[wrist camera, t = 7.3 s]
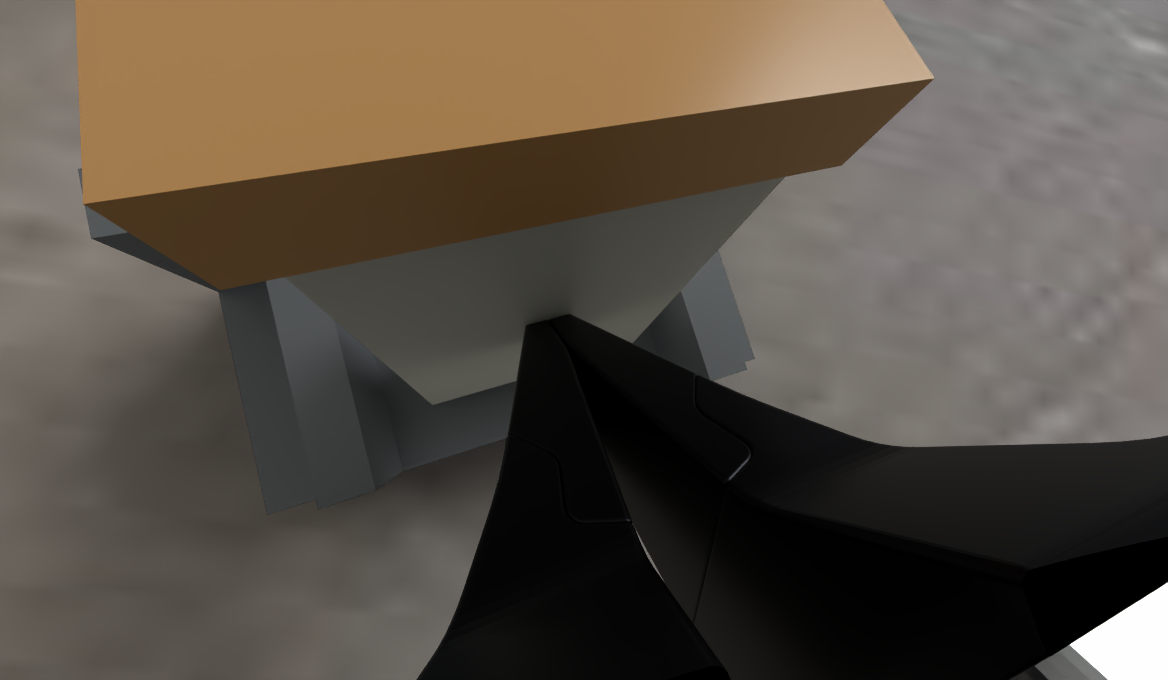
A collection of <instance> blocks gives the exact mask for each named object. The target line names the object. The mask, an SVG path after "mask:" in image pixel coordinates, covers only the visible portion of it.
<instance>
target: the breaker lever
mask: <svg viewBox="0 0 1168 680" xmlns="http://www.w3.org/2000/svg"><path fill="white" fill-rule="evenodd" d="M76 27H77V53H78V79H79V105H80V132H81V158H82V184H83V204H84V205H86V206H87V207H89V208H90V209H92V210H94V211H95V212H97V213H98V214H100V215H102V216H103V217H105V218H106V219H108V220H109V221H111V222H113V223H114V224H116V225H117V226H119V227H121V228H122V229H124V230H125V231H127V232H129V233H130V234H132V235H133V236H135V237H136V238H138V239H140V240H141V241H143V242H144V243H146V244H148V245H149V246H151V247H152V248H154V249H155V250H157V251H159V252H160V253H162V254H163V255H165V256H167V257H168V258H170V259H171V260H173V261H175V262H176V263H178V264H179V265H181V266H182V267H184V268H186V269H187V270H189V271H190V272H192V273H194V274H195V275H197V276H198V277H200V278H202V279H203V280H205V281H206V282H208V283H209V284H211V285H213V286H214V287H216V288H217V289H219V290H223V289H228V288H233V287H238V286H243V285H248V284H253V283H258V282H263V281H268V280H273V279H278V278H283V277H285V278H287V279H288V280H289V281H290V282H291V283H292V284H294V285H295V286H296V287H297V288H298V289H299V290H300V291H302V292H303V293H304V294H305V295H306V296H307V297H308V298H310V299H311V300H312V301H313V302H314V303H315V304H317V305H318V306H319V307H320V308H321V309H322V310H323V311H325V312H326V313H327V314H328V315H329V316H330V317H332V318H333V319H334V320H335V321H336V322H337V323H338V324H340V325H341V326H342V327H343V328H344V329H345V330H347V331H348V332H349V333H350V334H351V335H352V336H353V337H355V338H356V339H357V340H358V341H359V342H360V343H362V344H363V345H364V346H365V347H366V348H367V349H368V350H370V351H371V352H372V353H373V354H374V355H375V356H377V357H378V358H379V359H380V360H381V361H382V362H383V363H385V364H386V365H387V366H388V367H389V368H390V369H391V370H393V371H394V372H395V373H396V374H397V375H398V376H400V377H401V378H402V379H403V380H404V381H405V382H406V383H408V384H409V385H410V386H411V387H412V388H413V389H415V390H416V391H417V392H418V393H419V394H420V395H421V396H423V397H424V398H425V399H426V400H427V401H428V402H430V403H431V404H432V405H435V404H438V403H442V402H445V401H449V400H452V399H456V398H459V397H462V396H466V395H469V394H473V393H476V392H480V391H483V390H487V389H490V388H494V387H497V386H501V385H504V384H508V383H511V382H514V381H516V379H517V373H518V367H519V361H520V355H521V349H522V343H523V337H524V331H525V326H526V325H529V324H533V323H536V322H540V321H544V320H548V321H549V320H550V319H552V318H556V317H560V316H564V315H567V314H572V315H574V316H576V317H578V318H580V319H582V320H584V321H586V322H588V323H591V324H593V325H595V326H597V327H599V328H601V329H603V330H605V331H607V332H610V333H612V334H614V335H616V336H618V337H620V338H622V339H624V340H626V341H629V342H631V343H633V342H634V341H635V340H636V339H637V338H638V337H639V336H640V334H641V333H642V332H643V331H644V330H645V329H646V328H647V327H648V326H649V325H650V324H651V322H652V321H653V320H654V319H655V318H656V317H657V316H658V315H659V314H660V313H661V312H662V311H663V309H664V308H665V307H666V306H667V305H668V304H669V303H670V302H671V301H672V300H673V299H674V297H675V296H676V295H677V294H678V293H679V292H680V291H681V290H682V289H683V288H684V287H685V285H686V284H687V283H688V282H689V281H690V280H691V279H692V278H693V277H694V276H695V275H696V273H697V272H698V271H699V270H700V269H701V268H702V267H703V266H704V265H705V264H706V263H707V261H708V260H709V259H710V258H711V257H712V256H713V255H714V254H715V253H716V252H717V251H718V249H719V248H720V247H721V246H722V245H723V244H724V243H725V242H726V241H727V240H728V239H729V237H730V236H731V235H732V234H733V233H734V232H735V231H736V230H737V229H738V228H739V227H740V226H741V224H742V223H743V222H744V221H745V220H746V219H747V218H748V217H749V216H750V215H751V214H752V212H753V211H754V210H755V209H756V208H757V207H758V206H759V205H760V204H761V203H762V202H763V200H764V199H765V198H766V197H767V196H768V195H769V194H770V193H771V192H772V191H773V190H774V188H775V187H776V186H777V185H778V184H779V183H780V182H781V181H782V180H783V179H784V178H785V177H786V176H791V175H796V174H801V173H806V172H811V171H816V170H821V169H826V168H831V167H836V166H841V165H843V164H844V163H845V162H846V161H847V160H848V159H849V158H850V157H851V156H852V155H853V154H854V153H855V152H856V151H857V150H858V149H860V148H861V147H862V146H863V145H864V144H865V143H866V142H867V141H868V140H869V139H870V138H871V137H872V136H873V135H874V134H876V133H877V132H878V131H879V130H880V129H881V128H882V127H883V126H884V125H885V124H886V123H887V122H888V121H889V120H890V119H892V118H893V117H894V116H895V115H896V114H897V113H898V112H899V111H900V110H901V109H902V108H903V107H904V106H905V105H906V104H908V103H909V102H910V101H911V100H912V99H913V98H914V97H915V96H916V95H917V94H918V93H919V92H920V91H921V90H922V89H924V88H925V87H926V86H927V85H928V84H929V83H930V82H931V81H932V80H933V79H934V77H933V75H932V74H931V72H930V71H929V69H928V68H927V66H926V65H925V63H924V62H923V60H922V59H921V57H920V56H919V54H918V53H917V51H916V50H915V48H914V47H913V45H912V44H911V42H910V41H909V39H908V38H907V36H906V35H905V33H904V32H903V30H902V29H901V27H900V26H899V24H898V23H897V21H896V20H895V18H894V17H893V15H892V14H891V12H890V10H889V9H888V7H887V6H886V4H885V3H884V1H883V0H76Z"/></svg>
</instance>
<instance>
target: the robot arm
mask: <svg viewBox="0 0 1168 680" xmlns="http://www.w3.org/2000/svg"><path fill="white" fill-rule="evenodd" d="M632 523H633V525H634V526H633V525H632ZM634 527H635V528H634ZM635 529H636V530H635ZM636 531H637V532H638V534H639V536H640V538H641V540H642V542H643V544H644V545H645V547H646V549H647V551H648V553H649V555H650V556H651V558H652V560H653V562H654V564H655V566H656V567H657V569H658V571H659V573H660V575H661V577H662V578H663V580H664V581H663V580H662V579H661V577H660V576H659V574H658V573H657V572H656V570H655V569H654V567H653V566H652V564H651V562H650V561H649V559H648V557H647V555H646V553H645V551H644V549H643V547H642V545H641V542H640V540H639V538H638V535H637V533H636ZM664 582H665V583H664ZM417 680H1168V436H1162V437H1157V438H1151V439H1142V440H1132V441H1122V442H1102V443H1070V444H1028V445H985V446H943V447H902V446H891V445H885V444H879V443H875V442H871V441H867V440H863V439H860V438H857V437H854V436H851V435H848V434H845V433H843V432H840V431H837V430H835V429H832V428H829V427H827V426H824V425H821V424H819V423H816V422H813V421H810V420H808V419H805V418H802V417H800V416H797V415H794V414H792V413H789V412H786V411H784V410H781V409H778V408H776V407H773V406H770V405H768V404H765V403H763V402H760V401H758V400H755V399H753V398H750V397H748V396H745V395H743V394H740V393H738V392H736V391H734V390H731V389H729V388H727V387H725V386H722V385H720V384H718V383H716V382H714V381H711V380H709V379H707V378H705V377H703V376H701V375H697V376H696V374H695V373H694V372H692V371H690V370H688V369H686V368H684V367H681V366H679V365H677V364H675V363H673V362H671V361H669V360H667V359H665V358H662V357H660V356H658V355H656V354H654V353H652V352H650V351H648V350H646V349H643V348H641V347H639V346H637V345H635V344H633V343H631V342H629V341H626V340H624V339H622V338H620V337H618V336H616V335H614V334H612V333H610V332H607V331H605V330H603V329H601V328H599V327H597V326H595V325H593V324H591V323H588V322H586V321H584V320H582V319H580V318H578V317H576V316H574V315H572V314H567V315H564V316H560V317H556V318H552V319H550V320H549V321H548V320H544V321H540V322H536V323H533V324H529V325H526V326H525V331H524V337H523V343H522V349H521V355H520V361H519V367H518V373H517V379H516V386H515V392H514V398H513V404H512V410H511V416H510V422H509V428H508V436H507V439H506V445H505V451H504V456H503V461H502V466H501V470H500V475H499V480H498V483H497V487H496V490H495V494H494V497H493V501H492V504H491V507H490V511H489V514H488V517H487V520H486V523H485V526H484V529H483V532H482V535H481V538H480V541H479V544H478V547H477V550H476V553H475V556H474V559H473V562H472V565H471V568H470V571H469V574H468V577H467V580H466V583H465V587H464V589H463V592H462V595H461V598H460V601H459V603H458V606H457V609H456V611H455V614H454V616H453V619H452V621H451V623H450V625H449V627H448V630H447V632H446V634H445V636H444V638H443V639H442V641H441V643H440V645H439V647H438V648H437V650H436V651H435V653H434V655H433V656H432V658H431V659H430V661H429V662H428V664H427V665H426V666H425V668H424V669H423V671H422V672H421V674H420V675H419V677H418V678H417Z"/></svg>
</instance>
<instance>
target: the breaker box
mask: <svg viewBox="0 0 1168 680" xmlns="http://www.w3.org/2000/svg"><path fill="white" fill-rule="evenodd" d="M78 172H79V178H80V183H81V188H82V193H83V184H82V169H78ZM85 209H86V214H87V219H88V225H89V230H90V235H91V239H94V240H96V241H98V242H101V243H103V244H106V245H108V246H110V247H113V248H115V249H117V250H120V251H122V252H125V253H127V254H129V255H132V256H134V257H136V258H139V259H141V260H144V261H146V262H148V263H151V264H153V265H155V266H158V267H160V268H163V269H165V270H167V271H170V272H172V273H174V274H177V275H179V276H182V277H184V278H186V279H189V280H191V281H193V282H196V283H198V284H201V285H203V286H205V287H208V288H210V289H212V290H215V291H217V292H219V297H220V301H221V306H222V310H223V315H224V320H225V324H226V329H227V333H228V338H229V342H230V347H231V351H232V356H233V361H234V365H235V370H236V374H237V379H238V383H239V388H240V393H241V397H242V402H243V406H244V411H245V415H246V420H247V425H248V429H249V434H250V438H251V443H252V447H253V452H254V456H255V461H256V466H257V470H258V475H259V479H260V484H261V488H262V493H263V498H264V502H265V507H266V511H267V515H268V514H272V513H275V512H278V511H281V510H284V509H287V508H290V507H293V506H297V505H300V504H303V503H306V502H309V501H312V500H315V499H316V501H317V506H318V509H320V508H324V507H327V506H330V505H333V504H336V503H339V502H342V501H345V500H348V499H351V498H354V497H357V496H360V495H363V494H366V493H370V492H373V491H376V490H377V489H379V488H380V487H381V486H383V485H384V484H386V483H387V482H389V481H390V480H392V479H393V478H394V477H396V476H397V475H399V474H400V473H402V472H403V471H406V470H409V469H412V468H415V467H418V466H421V465H425V464H428V463H431V462H434V461H437V460H440V459H443V458H446V457H450V456H453V455H456V454H459V453H462V452H465V451H468V450H471V449H475V448H478V447H481V446H484V445H487V444H490V443H493V442H496V441H500V440H503V439H506V438H507V436H508V428H509V422H510V416H511V410H512V404H513V398H514V392H515V386H516V381H514V382H511V383H508V384H504V385H501V386H497V387H494V388H490V389H487V390H483V391H480V392H476V393H473V394H469V395H466V396H462V397H459V398H456V399H452V400H449V401H445V402H442V403H438V404H435V405H432V404H431V403H430V402H428V401H427V400H426V399H425V398H424V397H423V396H421V395H420V394H419V393H418V392H417V391H416V390H415V389H413V388H412V387H411V386H410V385H409V384H408V383H406V382H405V381H404V380H403V379H402V378H401V377H400V376H398V375H397V374H396V373H395V372H394V371H393V370H391V369H390V368H389V367H388V366H387V365H386V364H385V363H383V362H382V361H381V360H380V359H379V358H378V357H377V356H375V355H374V354H373V353H372V352H371V351H370V350H368V349H367V348H366V347H365V346H364V345H363V344H362V343H360V342H359V341H358V340H357V339H356V338H355V337H353V336H352V335H351V334H350V333H349V332H348V331H347V330H345V329H344V328H343V327H342V326H341V325H340V324H338V323H337V322H336V321H335V320H334V319H333V318H332V317H330V316H329V315H328V314H327V313H326V312H325V311H323V310H322V309H321V308H320V307H319V306H318V305H317V304H315V303H314V302H313V301H312V300H311V299H310V298H308V297H307V296H306V295H305V294H304V293H303V292H302V291H300V290H299V289H298V288H297V287H296V286H295V285H294V284H292V283H291V282H290V281H289V280H288V279H287V278H285V277H283V278H278V279H273V280H268V281H263V282H258V283H253V284H248V285H243V286H238V287H233V288H228V289H223V290H219V289H217V288H216V287H214V286H213V285H211V284H209V283H208V282H206V281H205V280H203V279H202V278H200V277H198V276H197V275H195V274H194V273H192V272H190V271H189V270H187V269H186V268H184V267H182V266H181V265H179V264H178V263H176V262H175V261H173V260H171V259H170V258H168V257H167V256H165V255H163V254H162V253H160V252H159V251H157V250H155V249H154V248H152V247H151V246H149V245H148V244H146V243H144V242H143V241H141V240H140V239H138V238H136V237H135V236H133V235H132V234H130V233H129V232H127V231H125V230H124V229H122V228H121V227H119V226H117V225H116V224H114V223H113V222H111V221H109V220H108V219H106V218H105V217H103V216H102V215H100V214H98V213H97V212H95V211H94V210H92V209H90V208H89V207H87V206H86V205H85ZM633 344H635V345H637V346H639V347H641V348H643V349H646V350H648V351H650V352H652V353H654V354H656V355H658V356H660V357H662V358H665V359H667V360H669V361H671V362H673V363H675V364H677V365H679V366H681V367H684V368H686V369H688V370H690V371H692V372H694V373H695V374H696V376H697V375H701V376H703V377H705V378H707V379H709V380H711V381H713V380H716V379H719V378H722V377H726V376H729V375H732V374H735V373H738V372H741V371H744V370H747V368H746V365H745V362H746V361H749V360H752V359H755V358H754V355H753V352H752V349H751V346H750V343H749V340H748V337H747V334H746V331H745V328H744V325H743V322H742V319H741V316H740V313H739V310H738V307H737V304H736V301H735V298H734V295H733V292H732V290H731V287H730V284H729V281H728V278H727V275H726V272H725V269H724V266H723V263H722V260H721V257H720V254H719V251H717V252H716V253H715V254H714V255H713V256H712V257H711V258H710V259H709V260H708V261H707V263H706V264H705V265H704V266H703V267H702V268H701V269H700V270H699V271H698V272H697V273H696V275H695V276H694V277H693V278H692V279H691V280H690V281H689V282H688V283H687V284H686V285H685V287H684V288H683V289H682V290H681V291H680V292H679V293H678V294H677V295H676V296H675V297H674V299H673V300H672V301H671V302H670V303H669V304H668V305H667V306H666V307H665V308H664V309H663V311H662V312H661V313H660V314H659V315H658V316H657V317H656V318H655V319H654V320H653V321H652V322H651V324H650V325H649V326H648V327H647V328H646V329H645V330H644V331H643V332H642V333H641V334H640V336H639V337H638V338H637V339H636V340H635V341H634V342H633Z"/></svg>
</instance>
